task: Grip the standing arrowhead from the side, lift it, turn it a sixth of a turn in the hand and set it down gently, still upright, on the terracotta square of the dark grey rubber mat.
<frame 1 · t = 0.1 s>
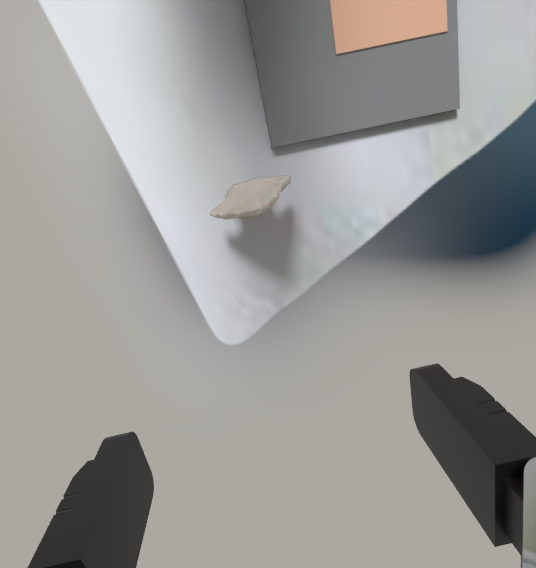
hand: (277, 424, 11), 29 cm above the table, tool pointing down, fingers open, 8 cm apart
mat: (350, 0, 33), on the table
arrowhead: (248, 191, 37), on the table
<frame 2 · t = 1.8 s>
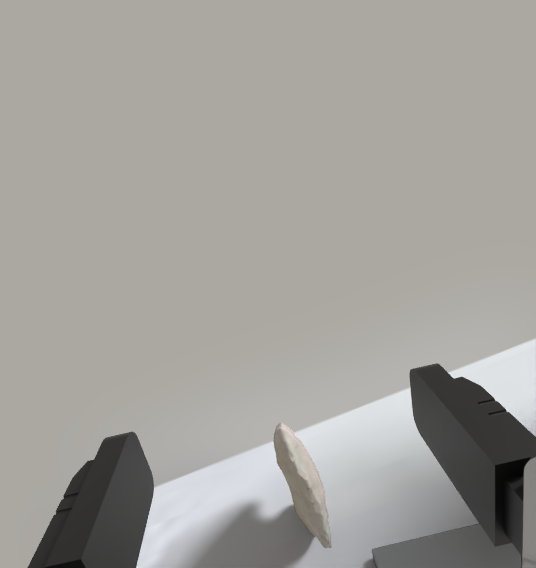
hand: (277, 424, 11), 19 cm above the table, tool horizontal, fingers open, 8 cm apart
arrowhead: (313, 529, 28), on the table
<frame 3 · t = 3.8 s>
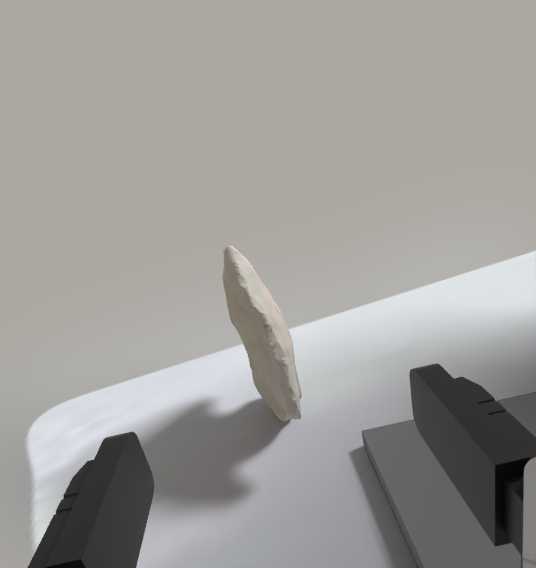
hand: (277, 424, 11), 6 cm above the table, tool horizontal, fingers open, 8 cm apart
arrowhead: (282, 421, 20), on the table
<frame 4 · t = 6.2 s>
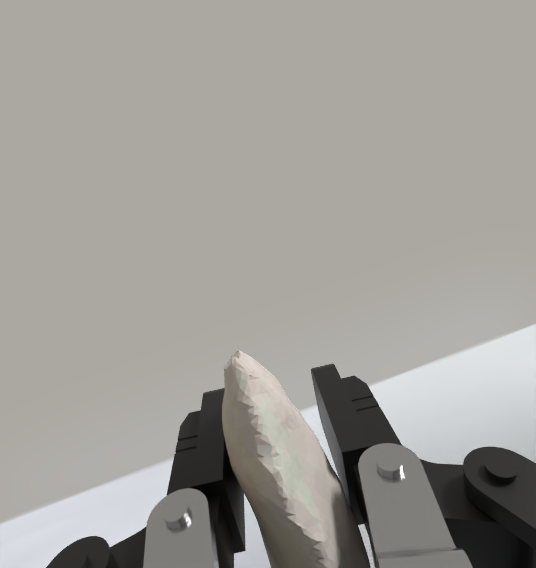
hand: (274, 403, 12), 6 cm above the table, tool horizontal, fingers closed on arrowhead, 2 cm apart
when the fingers open (7 cm above the table, at t = 11.9 s): arrowhead stays where it is, resting on mat.
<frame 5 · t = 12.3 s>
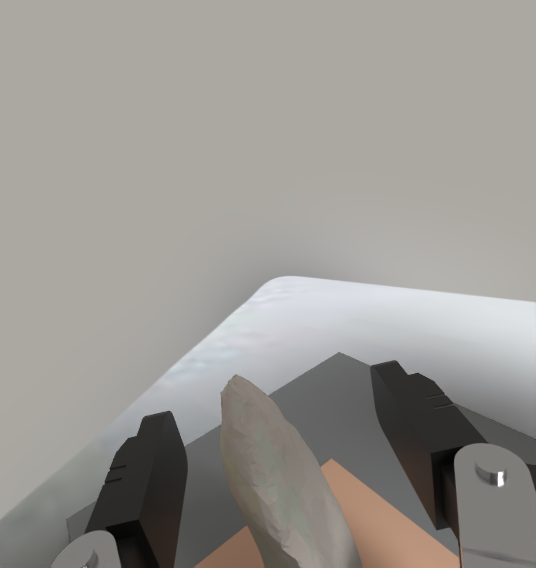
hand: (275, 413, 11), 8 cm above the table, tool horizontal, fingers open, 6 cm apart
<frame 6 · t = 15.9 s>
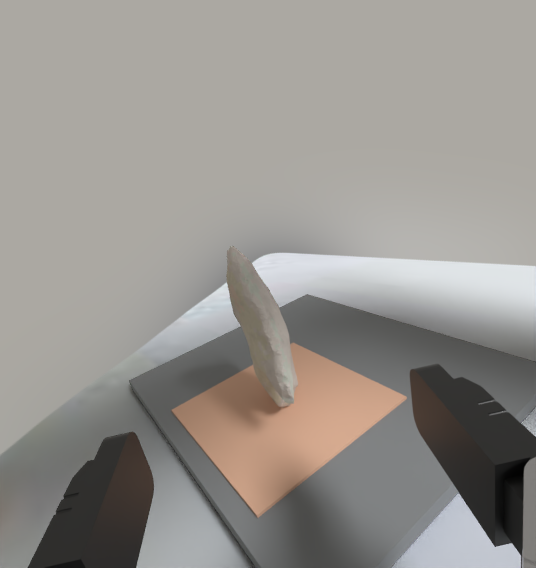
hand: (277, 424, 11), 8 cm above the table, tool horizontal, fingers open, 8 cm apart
mat: (310, 386, 25), on the table
arrowhead: (281, 408, 22), point 1 cm above the table, touching mat
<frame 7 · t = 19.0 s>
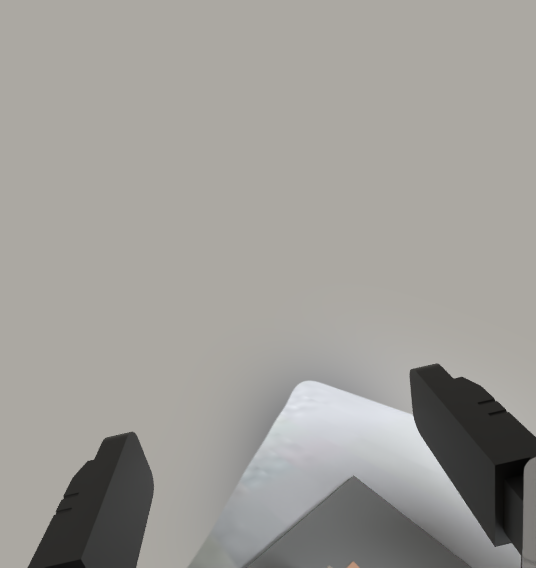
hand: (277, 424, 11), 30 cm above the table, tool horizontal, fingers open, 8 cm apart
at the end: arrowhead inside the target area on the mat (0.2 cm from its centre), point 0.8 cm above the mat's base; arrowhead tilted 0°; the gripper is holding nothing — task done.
